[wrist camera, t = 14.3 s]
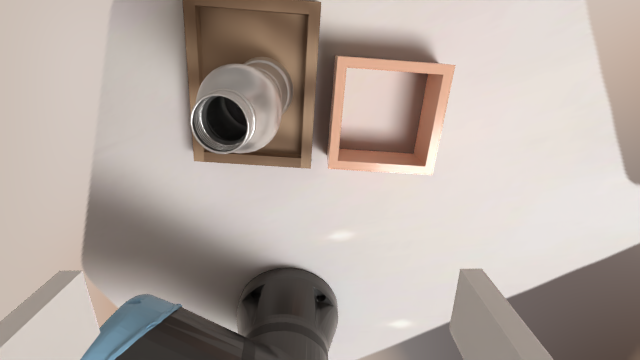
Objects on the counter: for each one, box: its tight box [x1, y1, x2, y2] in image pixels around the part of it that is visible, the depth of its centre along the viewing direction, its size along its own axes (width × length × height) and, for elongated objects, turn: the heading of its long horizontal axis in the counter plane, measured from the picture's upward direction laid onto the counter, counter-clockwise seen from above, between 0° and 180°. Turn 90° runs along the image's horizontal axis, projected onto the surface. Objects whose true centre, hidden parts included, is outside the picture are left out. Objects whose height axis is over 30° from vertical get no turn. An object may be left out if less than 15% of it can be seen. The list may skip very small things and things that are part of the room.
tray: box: [183, 0, 321, 168], centre depth 38 cm, size 18×14×2 cm
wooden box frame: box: [327, 55, 455, 175], centre depth 38 cm, size 12×12×5 cm
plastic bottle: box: [190, 57, 293, 154], centre depth 29 cm, size 6×7×20 cm
